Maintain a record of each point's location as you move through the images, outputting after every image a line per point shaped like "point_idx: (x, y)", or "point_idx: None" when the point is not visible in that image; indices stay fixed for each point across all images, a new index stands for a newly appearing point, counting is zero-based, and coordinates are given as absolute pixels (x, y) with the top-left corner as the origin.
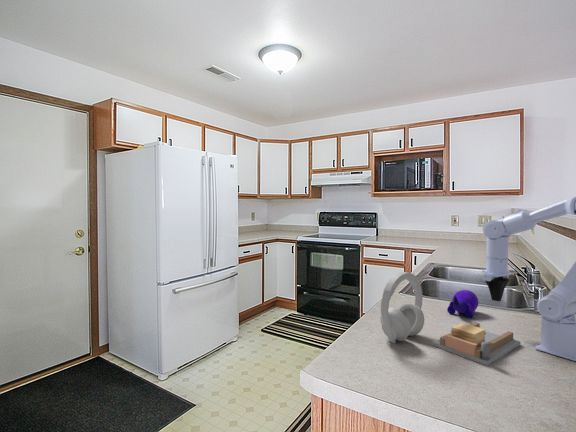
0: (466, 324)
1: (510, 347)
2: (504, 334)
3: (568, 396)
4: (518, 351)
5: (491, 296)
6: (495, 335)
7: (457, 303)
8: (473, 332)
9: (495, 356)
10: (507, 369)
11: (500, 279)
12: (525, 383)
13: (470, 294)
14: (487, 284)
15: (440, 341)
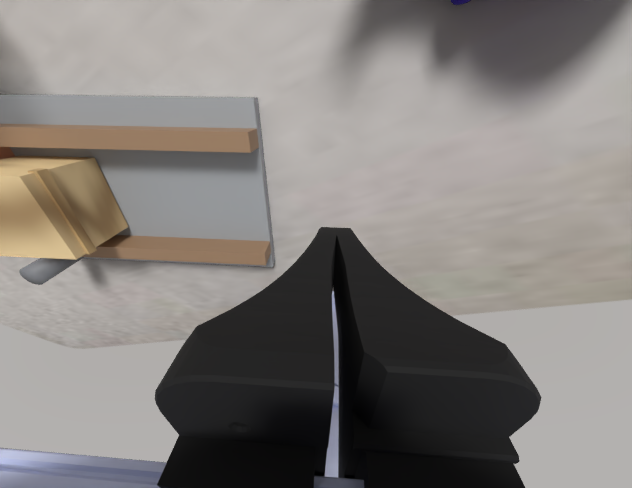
0: (28, 196)
1: (204, 263)
2: (221, 255)
3: (138, 341)
4: (226, 268)
5: (316, 238)
6: (252, 210)
7: None
8: (4, 247)
9: (114, 259)
10: (114, 279)
11: (345, 468)
12: (104, 307)
13: None
14: (249, 301)
15: None
